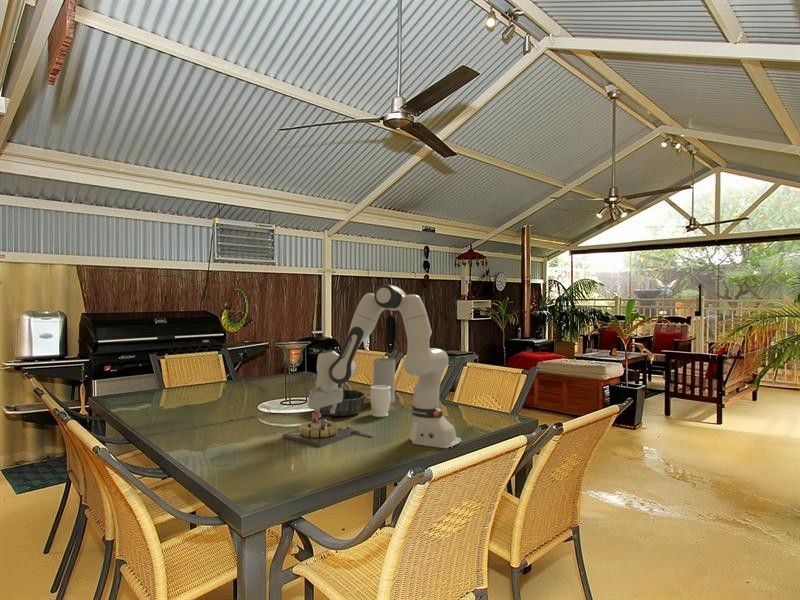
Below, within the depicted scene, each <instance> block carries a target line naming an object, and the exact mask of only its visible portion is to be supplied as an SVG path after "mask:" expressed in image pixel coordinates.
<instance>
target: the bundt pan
mask: <svg viewBox="0 0 800 600" xmlns="http://www.w3.org/2000/svg"><path fill="white" fill-rule="evenodd" d="M366 395H367V394H366V392H365V393H364V392H363V391H359V390H355V389H349V388H348V389H343V400H342V402H341V403H337V406H336V409H335V413H334V414H331V413H330V410H331V408H332V405H329V406H326V407H322V408H320V410H319V412H320V413H321V414H322V415H325V416H329V417H330V416H333V417H335V418H336V417H337V416H338V417H345V416H347V417H350V416H353V415H356V414H359V413H360V412H361V411H362V410H363V407H364V401H365V398H366Z"/></svg>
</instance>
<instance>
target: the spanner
mask: <svg viewBox="0 0 800 600" xmlns="http://www.w3.org/2000/svg"><path fill="white" fill-rule="evenodd" d="M346 427H347V428H345V429H346V430H351V431H354V433H356V435H359V434H360V436H364V437H368V436H369V438H375V437H376V433H373V432H369V431H364V430H359V429H355V428H352V427H350V424H347V425H346Z"/></svg>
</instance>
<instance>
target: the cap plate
mask: <svg viewBox="0 0 800 600" xmlns="http://www.w3.org/2000/svg"><path fill="white" fill-rule="evenodd" d="M326 427H327V425H326ZM311 428H321V422H313V423H311ZM281 435H282V438H283V439H285V440H290V441H293V442H297V443H302V444H306V445H311V446H313V447H318V448H322V447H325V446H328V445H330V444H333V443H337V442H338V440H339V441H341V440H344V439H346V437H347V438H349V437H351V435H352V436H354V435H355V434H354V431H351V430H346V428H340V427H338V432H337V433H336V434H335V435H332V436H329V437H319V438H317V437H306V436H303V435H301V434H300V428H299V429H295V430H292V431H289V432H285V433H283V434H281ZM343 438H344V439H343Z"/></svg>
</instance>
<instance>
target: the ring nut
mask: <svg viewBox="0 0 800 600" xmlns="http://www.w3.org/2000/svg"><path fill="white" fill-rule="evenodd" d="M318 419H319V418H318V413H317V412H315V411H314V412H311V421H306V422H302V423H301V424H300V425H299V429H300V434H301V435H303V436H306V437H317V438H319V437H329V436H332V435H335V434H336V433H337V432H338V428H339V425H338V423H337V422H335V421H332V420H327V419H326V418H321V419H320V420H318ZM313 422H321V428H311V423H313ZM326 425H327V427H326Z"/></svg>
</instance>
